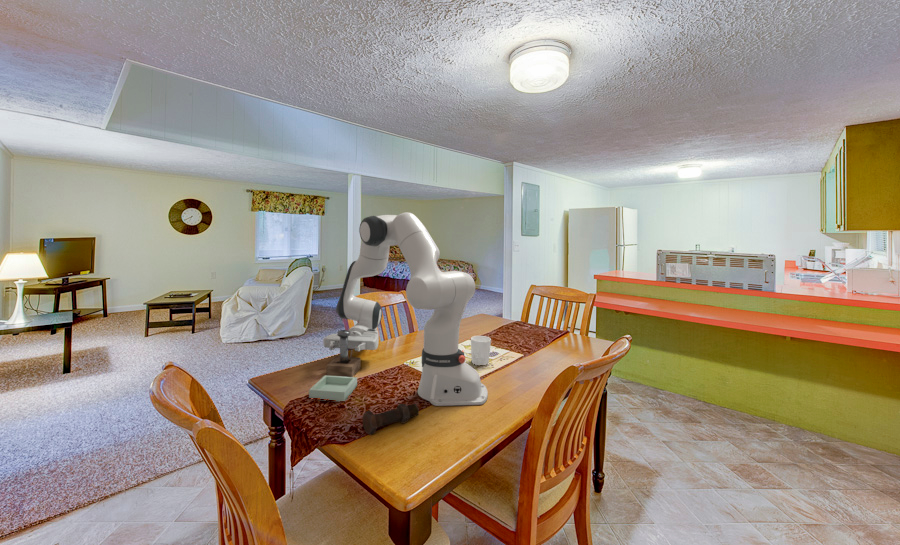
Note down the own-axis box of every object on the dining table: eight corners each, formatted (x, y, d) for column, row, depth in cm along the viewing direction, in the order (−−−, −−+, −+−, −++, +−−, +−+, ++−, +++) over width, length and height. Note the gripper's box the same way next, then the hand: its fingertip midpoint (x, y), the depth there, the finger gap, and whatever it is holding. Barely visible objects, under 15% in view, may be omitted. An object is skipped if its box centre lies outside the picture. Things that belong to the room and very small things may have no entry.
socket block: (360, 368, 132) (360, 357, 132) (351, 377, 124) (351, 366, 123) (336, 366, 133) (336, 356, 133) (326, 376, 124) (326, 365, 124)
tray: (357, 386, 117) (357, 377, 117) (344, 401, 106) (344, 392, 106) (324, 383, 118) (324, 375, 118) (309, 399, 107) (309, 389, 107)
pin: (352, 370, 130) (352, 330, 129) (347, 374, 126) (347, 333, 124) (340, 369, 131) (340, 329, 129) (335, 374, 126) (335, 333, 125)
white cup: (490, 367, 137) (491, 342, 136) (470, 366, 137) (471, 341, 136) (488, 359, 145) (490, 335, 144) (469, 359, 145) (470, 335, 144)
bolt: (417, 423, 99) (367, 439, 90) (409, 408, 103) (360, 422, 94) (424, 410, 97) (372, 425, 88) (415, 395, 100) (365, 408, 91)
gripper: (331, 328, 141) (315, 338, 127) (382, 330, 140) (371, 341, 126) (331, 343, 142) (315, 355, 128) (382, 346, 140) (371, 358, 127)
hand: (343, 348), depth 127 cm, fingers open, 8 cm apart
